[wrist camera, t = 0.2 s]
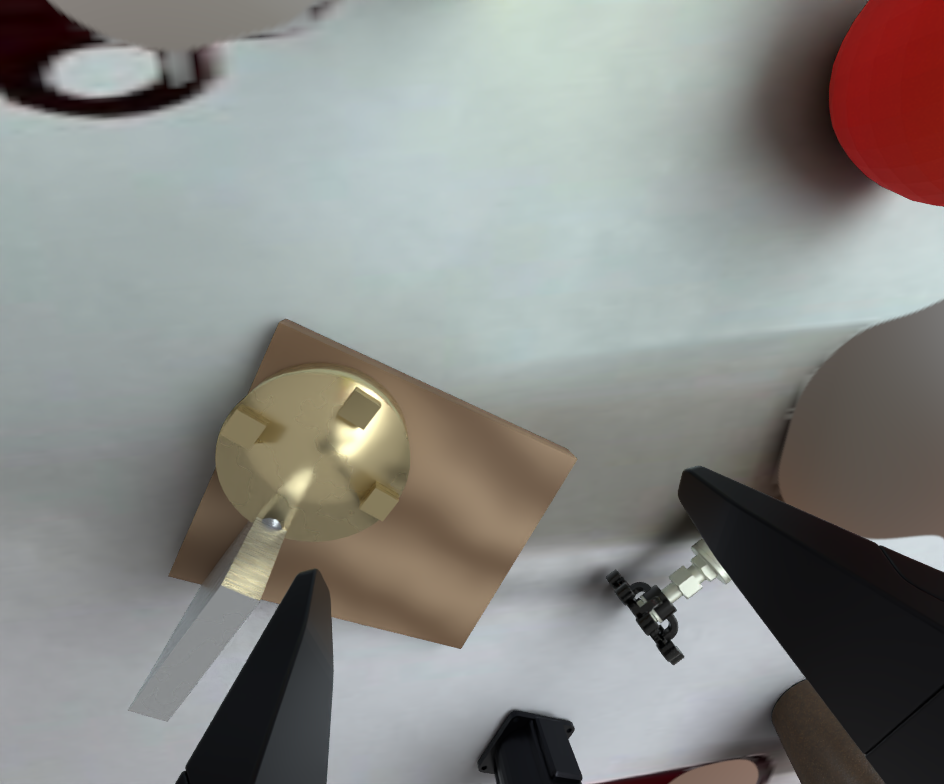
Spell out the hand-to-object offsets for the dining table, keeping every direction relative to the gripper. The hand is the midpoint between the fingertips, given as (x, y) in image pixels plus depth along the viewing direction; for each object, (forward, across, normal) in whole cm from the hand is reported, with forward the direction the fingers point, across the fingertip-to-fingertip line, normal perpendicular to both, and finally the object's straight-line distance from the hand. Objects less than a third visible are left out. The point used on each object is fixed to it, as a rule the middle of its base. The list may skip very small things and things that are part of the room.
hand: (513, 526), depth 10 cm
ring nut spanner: (+12, +9, +8) cm, 17 cm away
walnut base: (+13, +5, +11) cm, 18 cm away
